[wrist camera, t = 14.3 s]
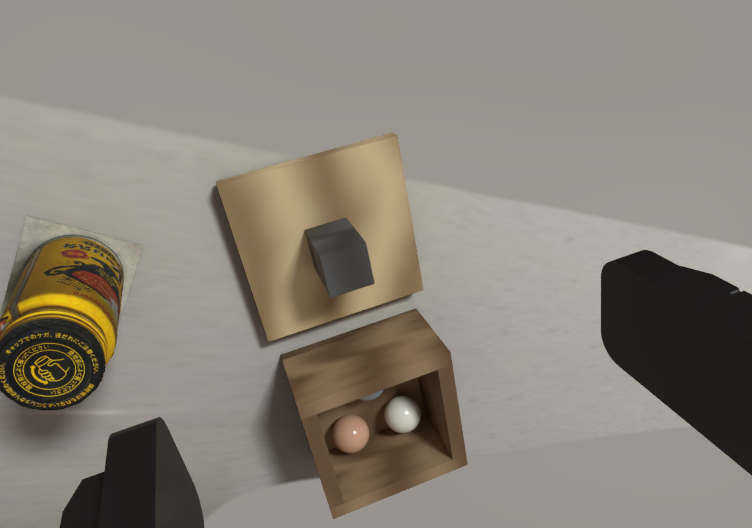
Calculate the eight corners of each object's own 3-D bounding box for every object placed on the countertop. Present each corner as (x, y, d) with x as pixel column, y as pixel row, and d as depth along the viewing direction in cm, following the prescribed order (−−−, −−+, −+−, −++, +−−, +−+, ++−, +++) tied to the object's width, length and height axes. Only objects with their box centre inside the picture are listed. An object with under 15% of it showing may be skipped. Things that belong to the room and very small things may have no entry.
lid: (265, 330, 47) (279, 378, 41) (214, 178, 41) (222, 209, 35) (415, 280, 50) (448, 319, 44) (388, 130, 43) (423, 152, 38)
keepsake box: (314, 459, 54) (333, 519, 48) (280, 354, 48) (297, 407, 42) (434, 413, 56) (467, 464, 50) (416, 308, 50) (450, 351, 44)
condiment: (143, 244, 41) (136, 330, 31) (110, 347, 43) (93, 459, 33) (26, 214, 38) (-26, 297, 28) (-3, 326, 40) (-61, 442, 30)
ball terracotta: (332, 441, 52) (342, 466, 50) (324, 414, 51) (333, 438, 48) (366, 428, 53) (377, 452, 50) (359, 402, 52) (370, 425, 49)
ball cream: (382, 422, 53) (394, 446, 51) (376, 395, 52) (388, 418, 49) (415, 410, 54) (429, 432, 51) (410, 383, 52) (423, 405, 50)
